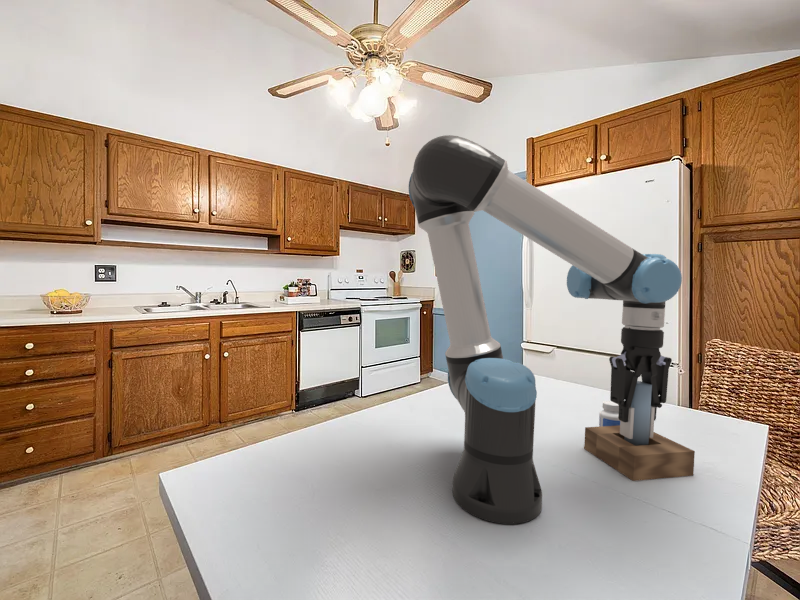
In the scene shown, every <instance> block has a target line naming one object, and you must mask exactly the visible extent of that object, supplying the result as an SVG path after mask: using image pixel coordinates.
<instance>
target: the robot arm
mask: <svg viewBox="0 0 800 600" xmlns="http://www.w3.org/2000/svg"><path fill="white" fill-rule="evenodd" d="M412 168H413V169H412V172H411V174H410V177H409V181H408V195H409V199H410V201H411V203H412V205H413V207H414V211H415V215H416V219H417V224H418V227H419V228H420V229H421V230H423V231H424V232H426V233H427V237H428V242H429V247H430V251H431V257H432V261H433V266H434V272H435V275H436V280H437V281H436V282H437V285H438V290H439V291H438V292H439V294H440V301H441V305H442V309H443V310H442V311H443V315H444V320H445V325H446V329H447V333H448V338H449V339H448V340H449V343H450V344H449V347H448V348H447V349H446V351H445V353H444V354H445V359H446V365H447V369H448V370H447V383H448V386H449V390H450V392H451V394H452V395H453V397H454V398H455V399H456V400H457V402H458V404H459V405H460V406H461V409H462V410H463V411H464V434H463V436H464V437H463V438H464V439H463V440H464V441H463V443H464V444H463V452H462V454H461V456H460V459H459V462H458V465H457V467H456V470H455V472H454V475H453V480H452V495H453V498H454V500H455V502H456V503H457V504H458V506H459V507H461V508H462V509H463V510H464V511H466V512H467V513H469V514H471V515H472V516H474V517H477V518H479V519H482V520H484V521H487V522H492V523H496V524H505V525H513V524H515V525H516V524H523V523H526V522H529V521H532V520H534V519H535V518H537V517H538V515H540V514H541V511H542V509H543V492H542V491H543V490H542V487H541V484H540V480H539V475H538V474H537V470H536V466H535V462H534V441H535V440H534V439H535V438H534V437H535V423H536V422H535V418H536V400H537V396H538V395H537V394H538V392H537V387H536V377H535V374H534V373H533V371H532V370H531V369H530V368H529V367H527V366H526V365H524V364H522V363H520V362H513V360H509V359H506V358H504V355H503V351H502V347H501V343H500V342H499V341H497V340H496V339H495V338H494V337H492V334H491V328H490V324H489V319H488V314H487V309H486V304H485V299H484V294H483V290H482V283H481V280H480V279H481V278H480V273H479V268H478V264H477V260H476V259H477V258H476V255H475V254H476V253H475V249H474V244H473V239H472V234H471V229H470V225H469V224H470V222H471V220H472V219H473V217H474V215H475V212H480V211H482V212H483V211H484V212H485V213H486V214H488V215H489V216H491V217H493V218H495V219H497V220H498V221H500V222H501V223H503V224H504V225H506V226H507V227H509V228H510V229H513V230H514V231H516V232H517V233H519V234H521V236H522V235H523V237H526V238H527V239H529V240H531V241H532V242H534V243H536V244H537V245H538V246H540V247H542V248H544V249H546V250H548V251H549V252H550V253H551V254H553V255H556V256H557V257H558V258H560V259H561V260H563V261H565V262H566V263H568V264H570V265H571V266H570V268H569V270H568V272H567V275H566V288H567V290H568V293H569V294H570V295H571V296H572V297H573V298H577V299H585V300H588V299H592V300H593V299H594V300H597V299H598V300H599V299H600V300H610V301H611V300H612V301H622V316H621V317H622V318H621V324H622V326H623V327H622V328H621V333H620V335H621V336H620V343H621V344H622V350H621V352H620V355H617V356H610V357H609V359H608V360H609V363H610V368H611V369H610V370H611V371H610V392H609V393H610V395H609V396H610V398H609V399H610V401H612V402H614V403H616V404H618V405H619V415H618V418H619V420H620V434H621V435H623V436H625V437H627V438H629V439H633V424H634V408H632V407H631V404H632V400H633V396H634V392H635V388H636V384H637V381H639V378H640V377H641V382H645V383H648V384H651V385H652V393H651V410H650V428H649V437H650V438H653V432H654V427H655V422H656V420H657V409H658V408H659V409H660V408H662V407H663V404H665V403H666V402H667V396H668V395H667V394H668V386H669V385H668V384H669V383H668V382H669V370H670V369H669V368H670V366H671V365H672V361H673V360H672V358H671V357H668V356H664V355H662V354H661V351H660V349H661V348H663V347H664V339H665V338H664V336H665V335H664V334H665V332H664V331H663V329H662V328H664V327H665V316H666V301H669V300H671V299H673V297H675V296H676V294H678V292H679V290H680V288H681V285H682V283H683V282H682V281H683V280H682V279H683V277H682V273H681V272H682V271H681V269H680V268H679V266H678V264H676V263H675V262H674V261H673V260H671V259H669V258H667V257H666V256H665V255H663V254H661V253H660V254H659V253H641V252H639V251H637V250H636V249H634V248H632V247H631V246H629V245H628V244H626V243H624V242H623V241H621V240H620V239H618V238H617V237H615V236H614V235H612V234H610V233H608V232H607V231H606V230H604V229H602V228H601V227H599V226H598V225H596V224H595V223H593V222H592V221H589V219H587V218H585V217H583V216H582V215H580V214H579V213H577V212H575V211H574V210H572V209H571V208H569V207H568V206H566V205H564V204H562V203H561V202H560V201H558V200H556V199H555V198H553V197H551V196H550V195H549V194H547V193H545V192H543V191H542V190H540V189H539V188H537V187H536V186H534V185H532V184H531V183H529V182H527V181H526V180H525V179H523V178H522V177H520V176H518V175H517V174H515V173H514V172H511V171H510V169H509V167H508V163H507V160H505V159H504V158H502V157H501V156H499V155H497V153H495V152H493V151H492V150H489V149H487V148H486V147H485V146H482V145H481V144H479V143H476V142H474V141H473V140H470V139H467V138H465V137H461V136H458V135H451V134H450V135H449V134H446V135H442V136H441V135H440V136H436V137H434V138H432V139H431V140H429V141H428V142H426V143H425V144H424V145H423V146H422V147H421V148H420V149H419V151H418V153H417V154H416V157H415V159H414V162H413V167H412Z"/></svg>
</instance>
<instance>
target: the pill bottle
mask: <svg viewBox="0 0 800 600" xmlns="http://www.w3.org/2000/svg"><path fill="white" fill-rule="evenodd" d="M601 407H602V410H600V411H599V418H598V419H599V421H598V424H599V425H598V427H600V426H618V425H620V420H619V418H618V415H619V405H618V404H616V403H614V402H612V401H611V400H610V401H609V400H604V401H602V406H601Z"/></svg>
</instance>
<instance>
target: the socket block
mask: <svg viewBox="0 0 800 600" xmlns="http://www.w3.org/2000/svg"><path fill="white" fill-rule="evenodd" d="M583 446H584V447H583V448H584V450H585V451H587V452H589V453H590V454H591V455H593V456H595V457H596V458H597V459H599V460H601V461H602V462H604V463H605V464H606V465H608V466H610V467H611V468H612V469H614V470H616V471H617V472H619V473H620V474H622V475H624V476H625V477H626V478H628V479H630V480H631V482H632V481H633V482H636V481H647V480H648V481H649V480H656V479H657V480H659V479H669V478H680V477H691V476H694V469H695V468H694V467H695V453H696V452H695V450H693V449H691V448H689V447H687V446H684V445H683V444H680V443H678V442H676V441H674V440H672V439H669V438H667V437H666V436H663V435H661V434H659V433H657V432H654V431H653V438H650V437H649V445H641V446H635V445H633V444H631V443H629V442H627V441H626V440H624V436H623V435H621V434H620V425H618V426H600V427H599V426H590V427H589V426H586V427H584V445H583Z"/></svg>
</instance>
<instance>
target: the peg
mask: <svg viewBox="0 0 800 600" xmlns="http://www.w3.org/2000/svg"><path fill="white" fill-rule="evenodd" d="M651 393H652V385H651V384H648V383H645V382H642V380H641V381H639V380H637V384H636V388H635V392H634V396H633V400H632V404H631V407H632V408H634V424H633V439H629V438H627V437H625V436H624V440H626V441H627V442H629V443H631V444H633V445H635V446H641V445H649V428H650V410H651Z"/></svg>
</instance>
